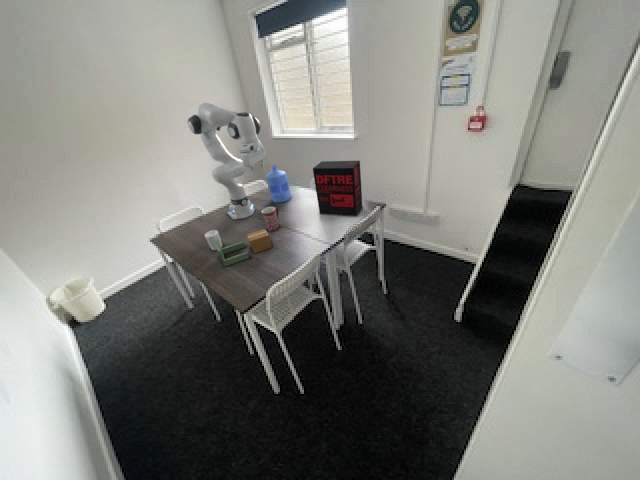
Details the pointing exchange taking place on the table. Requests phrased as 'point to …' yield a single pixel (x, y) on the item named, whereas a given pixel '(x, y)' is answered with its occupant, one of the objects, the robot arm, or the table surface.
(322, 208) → the product box
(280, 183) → the water jug
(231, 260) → the stand
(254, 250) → the parcel
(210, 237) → the white cup
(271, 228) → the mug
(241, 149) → the robot arm
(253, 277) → the table surface
